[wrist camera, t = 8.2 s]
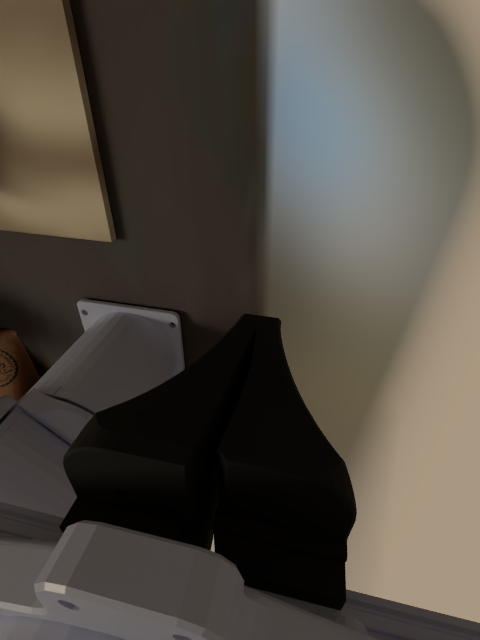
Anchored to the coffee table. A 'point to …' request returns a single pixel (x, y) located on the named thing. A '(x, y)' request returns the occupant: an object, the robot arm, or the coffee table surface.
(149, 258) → the coffee table surface
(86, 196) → the base board
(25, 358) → the sunglasses case
